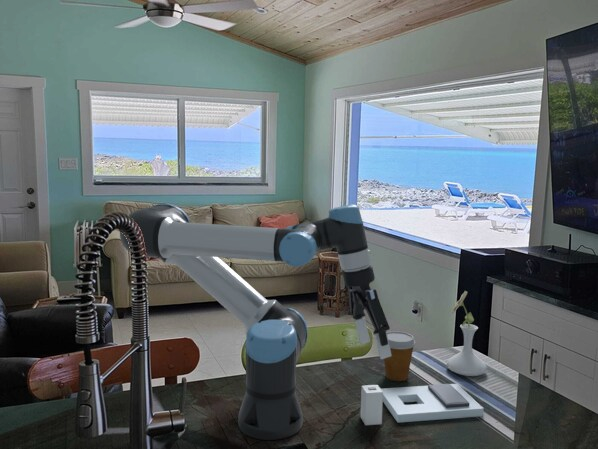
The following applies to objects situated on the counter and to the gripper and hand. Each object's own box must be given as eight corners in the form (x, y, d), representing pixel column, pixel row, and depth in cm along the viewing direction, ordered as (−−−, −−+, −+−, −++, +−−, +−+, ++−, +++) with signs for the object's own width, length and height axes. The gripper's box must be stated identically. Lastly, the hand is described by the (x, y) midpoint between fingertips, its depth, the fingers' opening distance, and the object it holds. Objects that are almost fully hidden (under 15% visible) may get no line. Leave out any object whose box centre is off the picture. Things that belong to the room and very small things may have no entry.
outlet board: (397, 422, 127) (398, 414, 126) (378, 395, 140) (379, 388, 140) (483, 416, 131) (483, 408, 130) (456, 390, 144) (457, 383, 144)
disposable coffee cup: (416, 384, 148) (418, 342, 146) (382, 383, 148) (383, 342, 146) (410, 370, 157) (412, 331, 156) (377, 369, 157) (379, 330, 156)
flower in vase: (458, 360, 165) (463, 282, 161) (493, 372, 157) (499, 289, 153) (435, 372, 156) (440, 289, 153) (471, 385, 148) (476, 297, 144)
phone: (446, 407, 130) (446, 404, 130) (428, 388, 141) (428, 384, 141) (469, 406, 131) (469, 402, 131) (449, 386, 142) (449, 383, 142)
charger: (365, 425, 125) (366, 392, 124) (360, 416, 129) (361, 384, 128) (381, 424, 126) (382, 391, 125) (376, 415, 130) (377, 383, 129)
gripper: (391, 269, 119) (410, 359, 121) (353, 258, 143) (370, 333, 145) (360, 278, 117) (380, 369, 119) (327, 265, 142) (344, 341, 144)
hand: (375, 349), depth 132 cm, fingers open, 13 cm apart
